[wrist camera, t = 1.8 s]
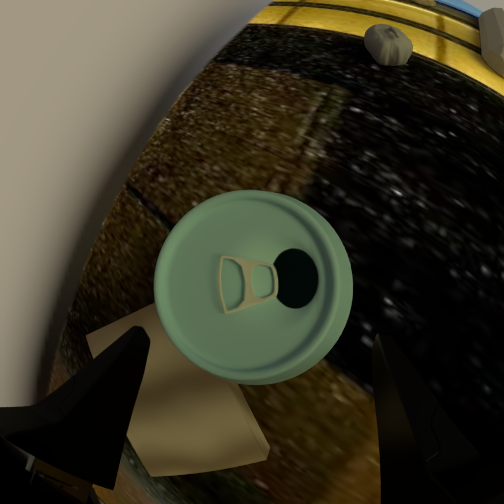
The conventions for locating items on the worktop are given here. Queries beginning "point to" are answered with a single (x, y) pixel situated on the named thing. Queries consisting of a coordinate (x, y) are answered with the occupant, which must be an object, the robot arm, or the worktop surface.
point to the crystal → (493, 38)
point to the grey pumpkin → (388, 45)
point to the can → (253, 287)
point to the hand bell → (425, 2)
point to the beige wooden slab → (183, 408)
